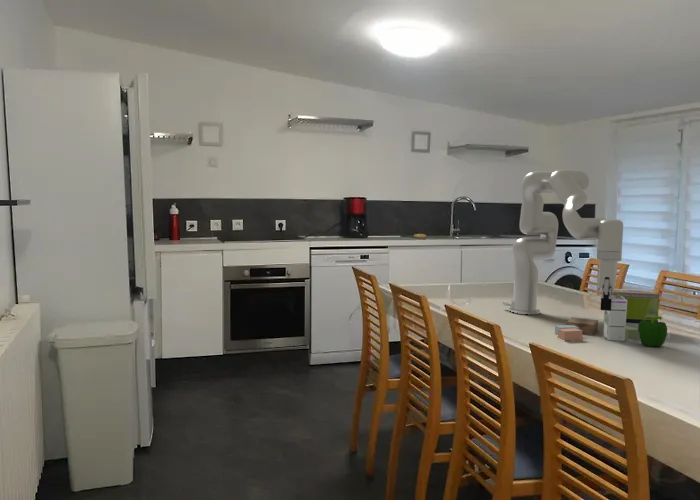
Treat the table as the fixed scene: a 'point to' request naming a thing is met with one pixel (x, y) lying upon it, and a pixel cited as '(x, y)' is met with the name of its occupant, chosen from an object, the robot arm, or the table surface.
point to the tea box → (639, 305)
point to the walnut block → (584, 325)
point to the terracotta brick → (570, 334)
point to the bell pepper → (652, 332)
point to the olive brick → (631, 332)
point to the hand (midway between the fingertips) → (606, 308)
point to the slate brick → (564, 327)
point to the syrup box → (615, 319)
